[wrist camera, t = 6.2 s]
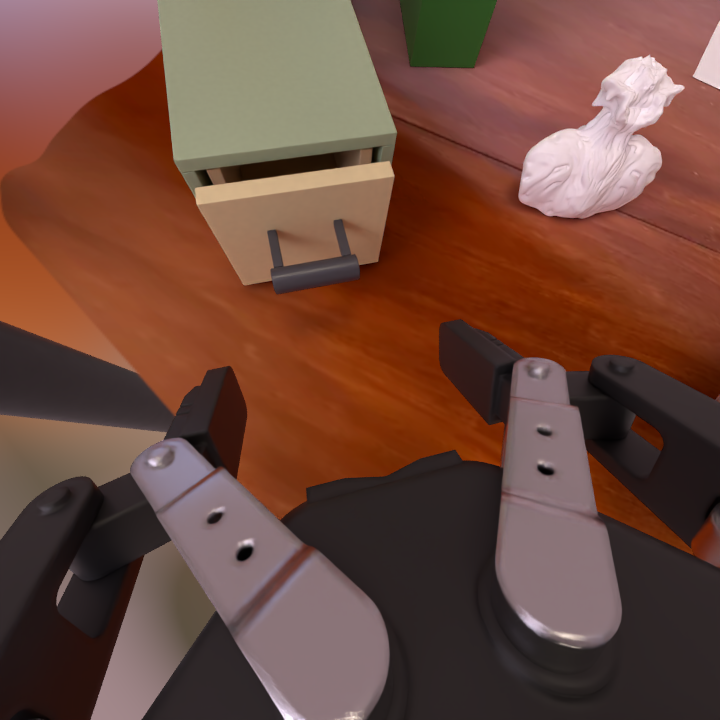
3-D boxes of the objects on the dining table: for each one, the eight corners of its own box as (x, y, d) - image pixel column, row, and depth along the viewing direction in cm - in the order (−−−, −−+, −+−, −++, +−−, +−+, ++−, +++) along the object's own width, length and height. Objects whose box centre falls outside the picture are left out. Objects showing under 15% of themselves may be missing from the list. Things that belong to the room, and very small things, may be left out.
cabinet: (377, 246, 28) (397, 132, 18) (236, 269, 27) (173, 160, 17) (342, 126, 32) (342, -23, 22) (217, 141, 31) (155, -11, 21)
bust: (600, 214, 34) (667, 74, 27) (654, 231, 28) (758, 56, 21) (492, 205, 33) (533, 60, 27) (522, 221, 27) (586, 39, 21)
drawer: (391, 307, 26) (415, 238, 17) (251, 335, 24) (204, 274, 16) (343, 143, 30) (344, 25, 22) (224, 158, 29) (176, 39, 21)
